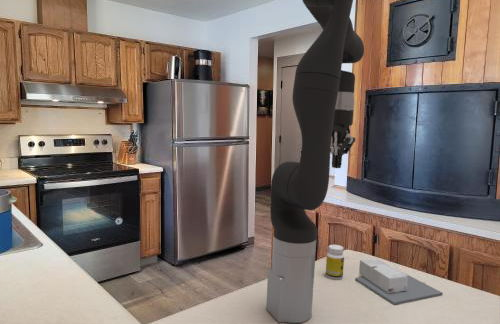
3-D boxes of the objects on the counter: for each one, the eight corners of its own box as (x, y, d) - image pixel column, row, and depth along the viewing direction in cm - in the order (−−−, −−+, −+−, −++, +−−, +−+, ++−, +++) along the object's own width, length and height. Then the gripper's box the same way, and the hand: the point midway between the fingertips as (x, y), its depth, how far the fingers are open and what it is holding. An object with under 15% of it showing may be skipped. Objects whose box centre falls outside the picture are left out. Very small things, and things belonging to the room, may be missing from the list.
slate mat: (394, 305, 85) (394, 302, 85) (355, 280, 98) (355, 278, 98) (442, 295, 91) (442, 292, 91) (399, 272, 104) (400, 270, 104)
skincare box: (376, 257, 102) (409, 273, 91) (375, 272, 102) (408, 290, 91) (358, 259, 100) (389, 276, 89) (357, 275, 100) (388, 294, 89)
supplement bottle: (343, 281, 97) (345, 250, 96) (325, 278, 98) (327, 248, 97) (342, 273, 102) (344, 245, 101) (325, 271, 103) (327, 243, 102)
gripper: (316, 108, 109) (313, 165, 111) (344, 107, 97) (339, 171, 99) (337, 109, 112) (333, 164, 114) (366, 109, 100) (361, 170, 102)
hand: (336, 167), depth 107 cm, fingers closed
